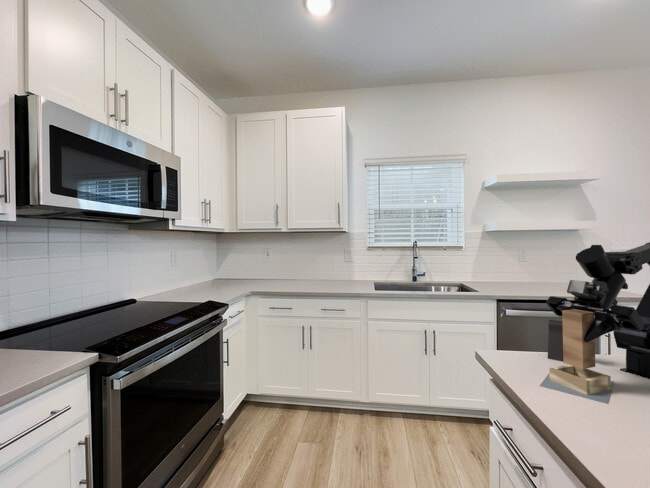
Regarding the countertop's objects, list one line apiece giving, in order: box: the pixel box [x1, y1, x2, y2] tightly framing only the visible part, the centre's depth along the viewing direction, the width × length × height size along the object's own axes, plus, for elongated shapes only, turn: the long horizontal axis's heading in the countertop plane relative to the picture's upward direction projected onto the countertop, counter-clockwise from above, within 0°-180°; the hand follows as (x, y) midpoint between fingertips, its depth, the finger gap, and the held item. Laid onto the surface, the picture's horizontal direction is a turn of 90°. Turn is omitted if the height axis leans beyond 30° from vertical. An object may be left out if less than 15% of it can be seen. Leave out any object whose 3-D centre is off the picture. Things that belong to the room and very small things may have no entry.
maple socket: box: [549, 364, 612, 395], centre depth 76 cm, size 8×8×3 cm
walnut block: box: [561, 309, 596, 369], centre depth 76 cm, size 4×4×13 cm
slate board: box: [538, 372, 615, 405], centre depth 76 cm, size 16×12×1 cm
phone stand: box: [547, 319, 563, 363], centre depth 95 cm, size 9×6×12 cm, turn 136°
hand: (574, 338), depth 76 cm, fingers closed on walnut block, 4 cm apart
